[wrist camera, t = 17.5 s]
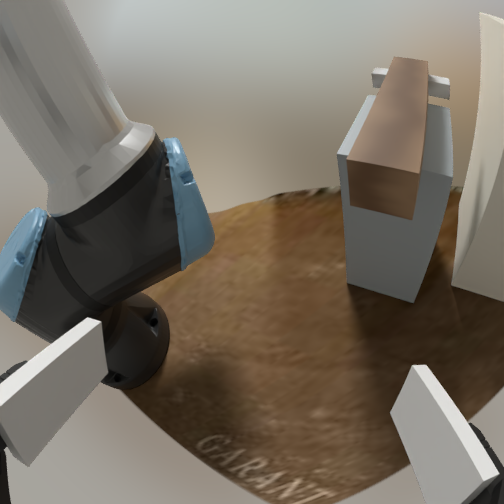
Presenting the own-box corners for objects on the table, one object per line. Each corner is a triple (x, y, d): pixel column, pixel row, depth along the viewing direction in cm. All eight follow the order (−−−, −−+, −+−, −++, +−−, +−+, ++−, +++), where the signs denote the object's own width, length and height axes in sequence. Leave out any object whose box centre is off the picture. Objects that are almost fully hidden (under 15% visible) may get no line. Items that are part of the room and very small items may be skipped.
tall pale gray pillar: (346, 282, 34) (336, 153, 20) (372, 215, 39) (368, 94, 25) (413, 303, 30) (452, 177, 16) (429, 230, 35) (449, 108, 21)
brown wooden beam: (313, 197, 18) (304, 153, 15) (376, 80, 27) (373, 54, 24) (450, 231, 13) (464, 185, 11) (448, 92, 22) (448, 65, 20)
